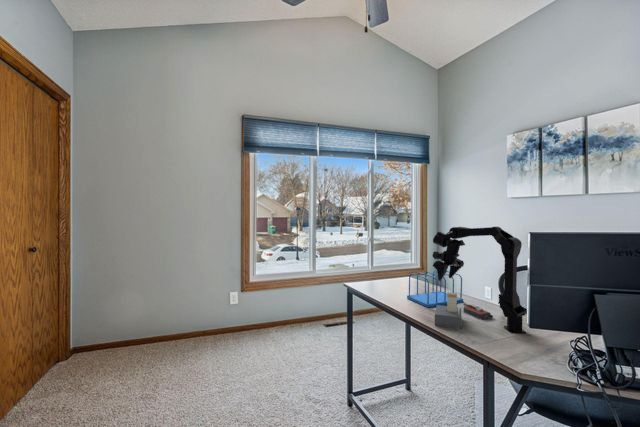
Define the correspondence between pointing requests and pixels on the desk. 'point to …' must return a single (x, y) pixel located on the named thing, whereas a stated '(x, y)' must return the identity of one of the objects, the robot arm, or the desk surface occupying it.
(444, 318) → the block
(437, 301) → the file sorter
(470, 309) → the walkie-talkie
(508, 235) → the robot arm
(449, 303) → the strip
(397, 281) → the desk surface
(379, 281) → the desk surface
